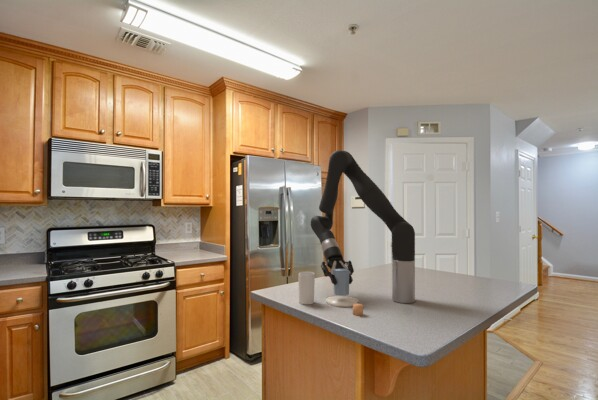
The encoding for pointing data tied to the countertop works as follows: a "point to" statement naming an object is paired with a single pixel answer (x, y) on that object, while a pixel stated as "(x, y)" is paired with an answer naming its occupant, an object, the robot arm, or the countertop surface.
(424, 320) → the countertop surface
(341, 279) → the tumbler
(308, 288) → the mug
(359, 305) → the light brown cube
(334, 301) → the dish
